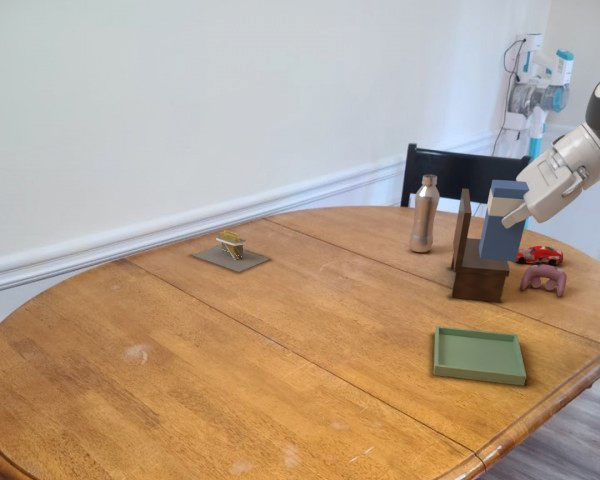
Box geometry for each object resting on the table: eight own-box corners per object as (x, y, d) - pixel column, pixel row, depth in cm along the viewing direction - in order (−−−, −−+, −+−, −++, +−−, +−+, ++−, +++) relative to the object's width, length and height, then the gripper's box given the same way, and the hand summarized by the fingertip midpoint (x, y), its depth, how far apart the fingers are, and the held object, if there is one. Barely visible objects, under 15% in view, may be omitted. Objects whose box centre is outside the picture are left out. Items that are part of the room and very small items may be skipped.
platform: (238, 272, 144) (237, 247, 140) (191, 255, 154) (189, 231, 150) (270, 259, 152) (269, 235, 148) (223, 243, 161) (221, 220, 157)
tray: (515, 343, 116) (517, 334, 114) (523, 385, 103) (526, 376, 101) (434, 334, 118) (436, 325, 117) (433, 375, 105) (435, 365, 104)
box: (513, 250, 102) (529, 181, 95) (516, 261, 98) (533, 190, 91) (478, 247, 103) (492, 179, 96) (479, 258, 99) (494, 187, 92)
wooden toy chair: (495, 270, 147) (513, 191, 135) (502, 303, 131) (522, 216, 119) (448, 266, 149) (462, 188, 137) (449, 298, 133) (464, 212, 121)
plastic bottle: (402, 250, 158) (412, 175, 147) (418, 245, 162) (428, 172, 150) (420, 256, 154) (431, 180, 143) (436, 251, 158) (448, 176, 146)
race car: (511, 263, 151) (514, 249, 149) (508, 256, 155) (512, 242, 153) (563, 267, 149) (567, 252, 147) (559, 259, 154) (563, 245, 151)
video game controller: (561, 298, 137) (569, 269, 136) (562, 297, 133) (571, 267, 132) (519, 290, 140) (526, 262, 139) (519, 289, 136) (526, 260, 135)
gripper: (603, 193, 82) (518, 252, 89) (577, 162, 98) (507, 214, 106) (580, 159, 80) (495, 222, 87) (558, 133, 97) (487, 188, 104)
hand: (501, 218), depth 97 cm, fingers closed on box, 5 cm apart
